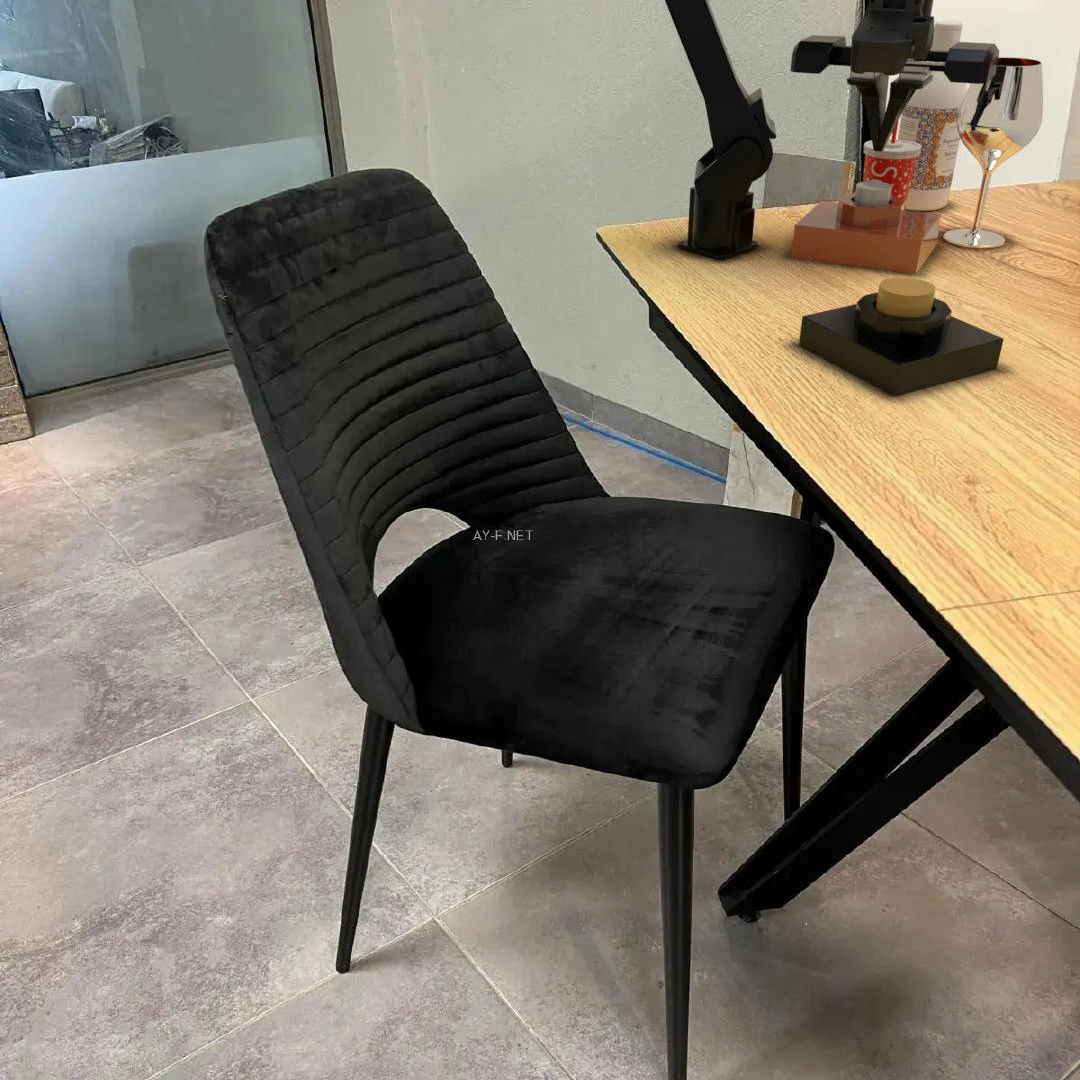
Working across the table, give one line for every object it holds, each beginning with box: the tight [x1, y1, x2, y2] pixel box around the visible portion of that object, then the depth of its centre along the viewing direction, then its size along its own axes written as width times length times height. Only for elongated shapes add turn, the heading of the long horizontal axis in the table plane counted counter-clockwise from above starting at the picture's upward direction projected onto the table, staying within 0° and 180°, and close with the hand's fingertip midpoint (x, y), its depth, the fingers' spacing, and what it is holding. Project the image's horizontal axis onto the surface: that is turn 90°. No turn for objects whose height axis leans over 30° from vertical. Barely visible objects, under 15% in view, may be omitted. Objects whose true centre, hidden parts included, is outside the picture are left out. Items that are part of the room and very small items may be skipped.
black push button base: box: [798, 291, 1005, 397], centre depth 86 cm, size 12×11×4 cm
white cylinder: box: [854, 181, 892, 206], centre depth 107 cm, size 4×4×2 cm
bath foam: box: [897, 20, 968, 212], centre depth 120 cm, size 7×7×20 cm
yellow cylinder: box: [876, 276, 937, 318], centre depth 85 cm, size 4×4×2 cm
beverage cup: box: [862, 119, 921, 210], centre depth 114 cm, size 6×6×14 cm
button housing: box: [790, 192, 942, 275], centre depth 109 cm, size 13×10×6 cm
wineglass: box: [942, 56, 1044, 249], centre depth 108 cm, size 8×8×18 cm
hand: (878, 150), depth 105 cm, fingers closed
